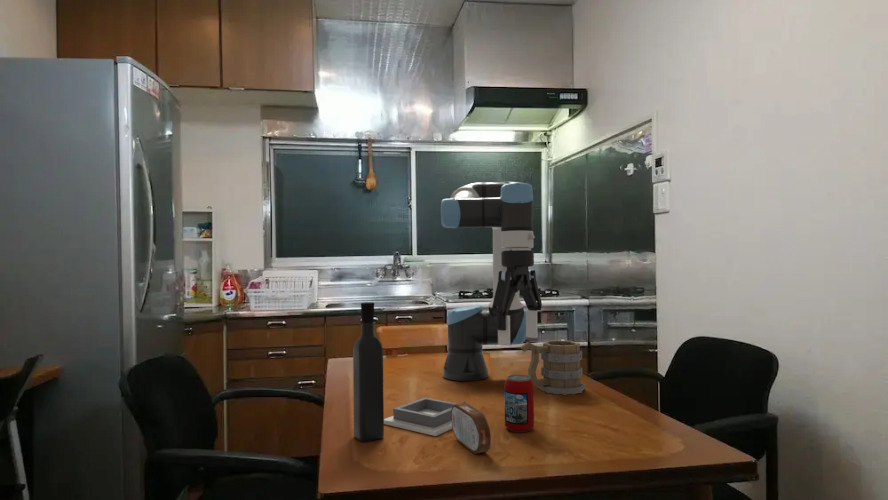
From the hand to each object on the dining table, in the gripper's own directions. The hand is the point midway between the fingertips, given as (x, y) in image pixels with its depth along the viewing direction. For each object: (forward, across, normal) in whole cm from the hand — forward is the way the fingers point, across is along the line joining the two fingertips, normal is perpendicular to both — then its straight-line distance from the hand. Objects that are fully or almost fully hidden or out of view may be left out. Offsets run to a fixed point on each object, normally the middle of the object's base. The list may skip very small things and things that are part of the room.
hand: (518, 341), depth 124 cm
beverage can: (+20, 0, 0) cm, 21 cm away
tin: (+21, -16, +3) cm, 26 cm away
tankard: (+20, +37, +9) cm, 43 cm away
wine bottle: (+21, -24, +25) cm, 40 cm away
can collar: (+20, -7, +21) cm, 30 cm away
